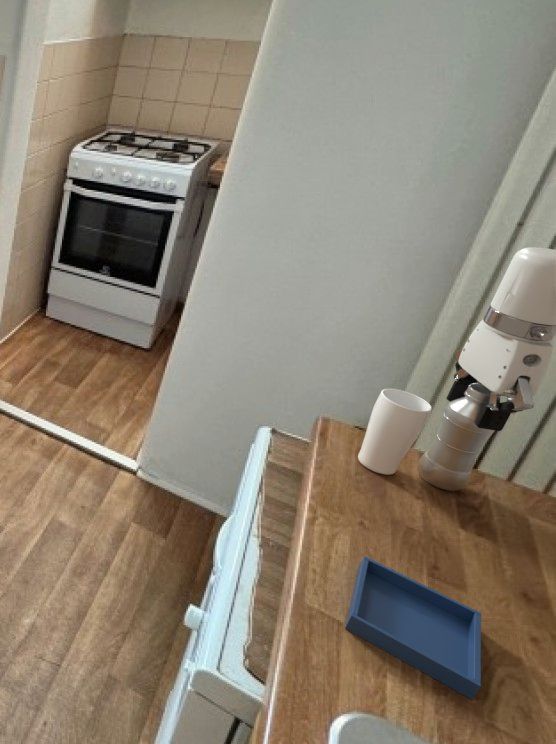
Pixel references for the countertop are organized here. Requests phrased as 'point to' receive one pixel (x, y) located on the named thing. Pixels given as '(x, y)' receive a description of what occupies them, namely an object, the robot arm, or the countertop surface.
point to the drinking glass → (392, 429)
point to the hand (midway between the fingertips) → (472, 414)
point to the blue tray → (417, 626)
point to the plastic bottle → (457, 441)
